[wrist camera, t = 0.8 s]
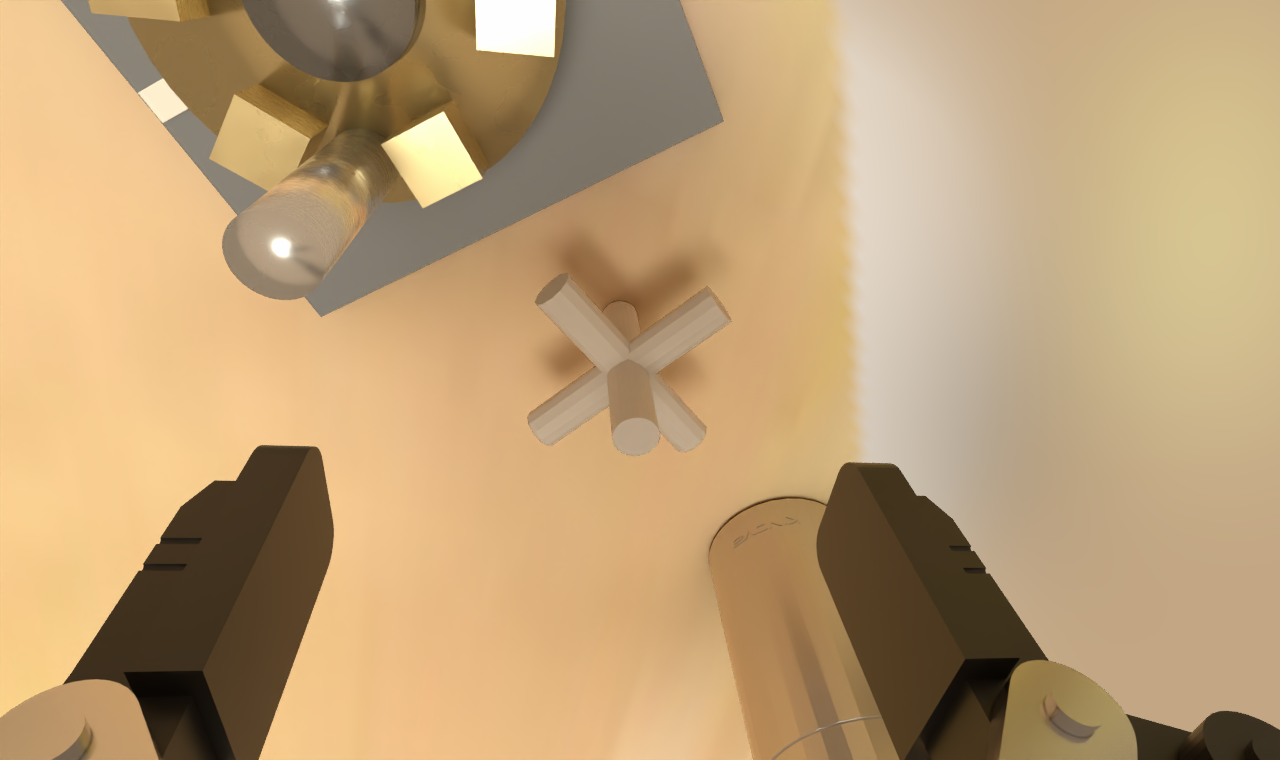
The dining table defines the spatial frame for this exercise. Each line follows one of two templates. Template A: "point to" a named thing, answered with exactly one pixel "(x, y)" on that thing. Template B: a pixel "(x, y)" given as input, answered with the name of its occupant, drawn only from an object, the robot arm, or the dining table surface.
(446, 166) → the brass lugged hub
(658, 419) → the pipe connector
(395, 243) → the base plate
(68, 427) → the dining table surface
